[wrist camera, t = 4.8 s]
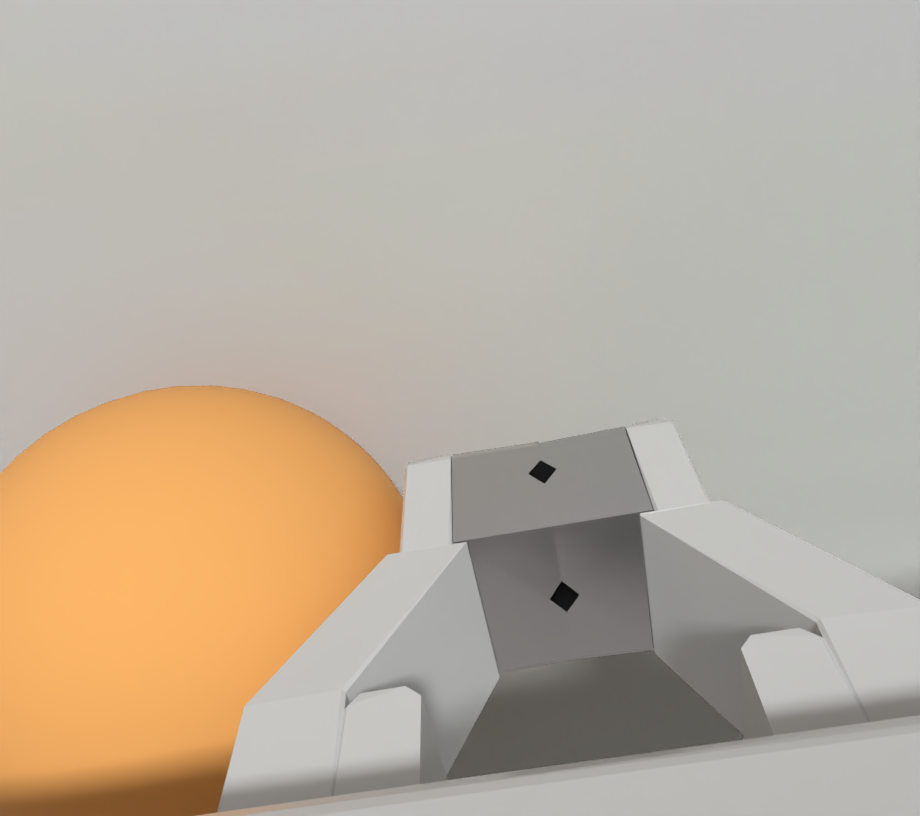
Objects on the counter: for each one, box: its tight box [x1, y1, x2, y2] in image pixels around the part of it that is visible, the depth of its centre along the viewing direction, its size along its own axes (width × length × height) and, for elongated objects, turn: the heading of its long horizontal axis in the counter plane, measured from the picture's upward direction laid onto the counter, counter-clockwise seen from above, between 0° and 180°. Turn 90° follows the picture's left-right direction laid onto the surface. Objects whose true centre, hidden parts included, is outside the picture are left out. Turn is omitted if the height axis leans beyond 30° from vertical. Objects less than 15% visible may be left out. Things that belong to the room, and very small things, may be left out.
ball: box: [0, 386, 403, 816], centre depth 10 cm, size 6×6×6 cm
